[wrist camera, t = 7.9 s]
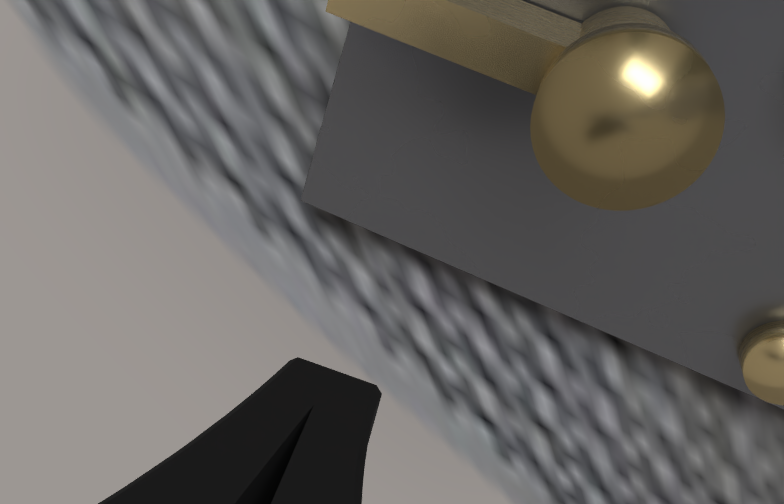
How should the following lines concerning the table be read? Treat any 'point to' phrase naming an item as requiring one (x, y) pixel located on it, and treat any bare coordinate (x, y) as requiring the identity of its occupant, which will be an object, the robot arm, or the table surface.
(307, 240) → the table surface
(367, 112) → the base plate
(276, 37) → the table surface
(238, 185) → the table surface
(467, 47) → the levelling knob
